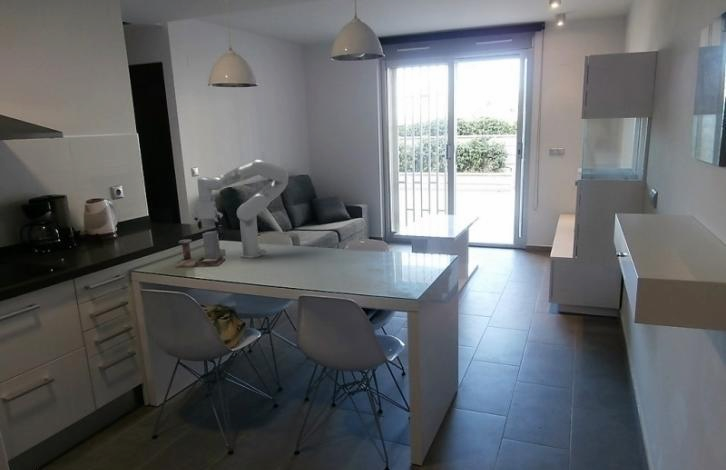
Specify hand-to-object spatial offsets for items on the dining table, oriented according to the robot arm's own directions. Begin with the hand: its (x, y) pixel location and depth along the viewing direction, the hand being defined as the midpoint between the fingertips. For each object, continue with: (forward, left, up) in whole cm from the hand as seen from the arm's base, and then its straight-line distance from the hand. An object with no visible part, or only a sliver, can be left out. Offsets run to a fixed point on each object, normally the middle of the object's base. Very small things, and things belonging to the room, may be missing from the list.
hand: (208, 228), depth 286 cm
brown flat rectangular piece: (+2, +12, -18) cm, 22 cm away
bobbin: (+13, +3, -18) cm, 23 cm away
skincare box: (-1, 0, -18) cm, 18 cm away
